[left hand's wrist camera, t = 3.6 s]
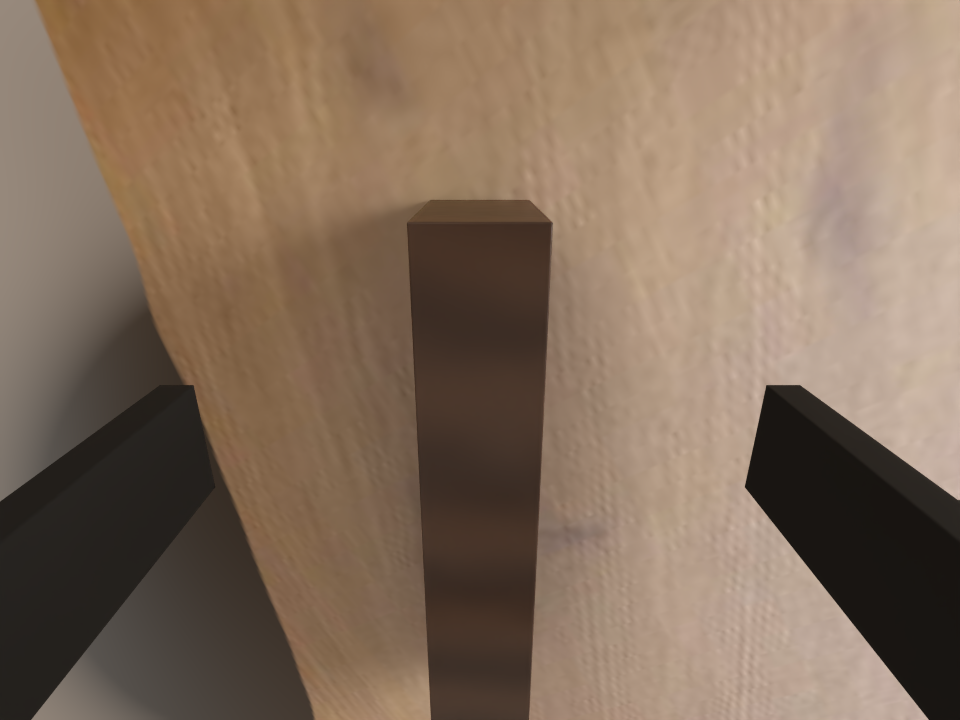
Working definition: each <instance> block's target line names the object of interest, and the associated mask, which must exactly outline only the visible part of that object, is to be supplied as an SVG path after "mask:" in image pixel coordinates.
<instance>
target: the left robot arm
mask: <svg viewBox="0 0 960 720" xmlns="http://www.w3.org/2000/svg"><path fill="white" fill-rule="evenodd" d="M214 488H215V484H214V479H213V475H212V470H211V465H210V461H209V456H208V451H207V446H206V442H205V437H204V432H203V428H202V423H201V418H200V414H199V409H198V404H197V399H196V395H195V390H194V385H160V386H158V387H157V388H156V389H154V390H153V391H151V392H150V393H149V394H147V395H146V396H145V397H143V398H142V399H140V400H139V401H138V402H136V403H135V404H134V405H132V406H131V407H130V408H128V409H127V410H125V411H124V412H123V413H121V414H120V415H119V416H117V417H116V418H114V419H113V420H112V421H110V422H109V423H108V424H106V425H105V426H103V427H102V428H101V429H99V430H98V431H97V432H95V433H94V434H92V435H91V436H90V437H88V438H87V439H86V440H84V441H83V442H81V443H80V444H79V445H77V446H76V447H75V448H73V449H72V450H70V451H69V452H68V453H66V454H65V455H64V456H62V457H61V458H59V459H58V460H57V461H55V462H54V463H53V464H51V465H50V466H49V467H47V468H46V469H44V470H43V471H42V472H40V473H39V474H37V475H36V476H35V477H33V478H32V479H31V480H29V481H28V482H27V483H25V484H24V485H22V486H21V487H20V488H18V489H17V490H16V491H14V492H13V493H11V494H10V495H9V496H7V497H6V498H5V499H3V500H2V501H1V502H0V720H31V719H32V718H33V717H34V715H35V714H36V713H37V712H38V710H39V709H40V708H41V707H42V705H43V704H44V703H45V701H46V700H47V699H48V698H49V696H50V695H51V694H52V693H53V691H54V690H55V689H56V688H57V686H58V685H59V684H60V682H61V681H62V680H63V679H64V677H65V676H66V675H67V674H68V672H69V671H70V670H71V668H72V667H73V666H74V665H75V663H76V662H77V661H78V660H79V658H80V657H81V656H82V655H83V653H84V652H85V651H86V650H87V648H88V647H89V646H90V645H91V643H92V642H93V641H94V639H95V638H96V637H97V636H98V634H99V633H100V632H101V631H102V629H103V628H104V627H105V626H106V624H107V623H108V622H109V621H110V619H111V618H112V617H113V615H114V614H115V613H116V612H117V610H118V609H119V608H120V607H121V605H122V604H123V603H124V602H125V600H126V599H127V598H128V597H129V595H130V594H131V593H132V591H133V590H134V589H135V588H136V586H137V585H138V584H139V583H140V581H141V580H142V579H143V578H144V576H145V575H146V574H147V572H148V571H149V570H150V569H151V567H152V566H153V565H154V564H155V562H156V561H157V560H158V559H159V557H160V556H161V555H162V554H163V552H164V551H165V550H166V548H167V547H168V546H169V545H170V543H171V542H172V541H173V540H174V538H175V537H176V536H177V535H178V533H179V532H180V531H181V530H182V528H183V527H184V526H185V525H186V523H187V522H188V521H189V519H190V518H191V517H192V516H193V514H194V513H195V512H196V511H197V509H198V508H199V507H200V506H201V504H202V503H203V502H204V500H205V499H206V498H207V497H208V495H209V494H210V493H211V492H212V490H213V489H214ZM745 488H746V489H747V490H748V492H749V493H750V494H751V495H752V497H753V498H754V499H755V501H756V502H757V503H758V504H759V506H760V507H761V508H762V509H763V511H764V512H765V513H766V514H767V516H768V517H769V518H770V519H771V521H772V522H773V523H774V525H775V526H776V527H777V528H778V530H779V531H780V532H781V533H782V535H783V536H784V537H785V538H786V540H787V541H788V542H789V543H790V545H791V546H792V547H793V549H794V550H795V551H796V552H797V554H798V555H799V556H800V557H801V559H802V560H803V561H804V562H805V564H806V565H807V566H808V567H809V569H810V570H811V571H812V573H813V574H814V575H815V576H816V578H817V579H818V580H819V581H820V583H821V584H822V585H823V586H824V588H825V589H826V590H827V591H828V593H829V594H830V595H831V597H832V598H833V599H834V600H835V602H836V603H837V604H838V605H839V607H840V608H841V609H842V610H843V612H844V613H845V614H846V616H847V617H848V618H849V619H850V621H851V622H852V623H853V624H854V626H855V627H856V628H857V629H858V631H859V632H860V633H861V634H862V636H863V637H864V638H865V640H866V641H867V642H868V643H869V645H870V646H871V647H872V648H873V650H874V651H875V652H876V653H877V655H878V656H879V657H880V658H881V660H882V661H883V662H884V664H885V665H886V666H887V667H888V669H889V670H890V671H891V672H892V674H893V675H894V676H895V677H896V679H897V680H898V681H899V682H900V684H901V685H902V686H903V688H904V689H905V690H906V691H907V693H908V694H909V695H910V696H911V698H912V699H913V700H914V701H915V703H916V704H917V705H918V707H919V708H920V709H921V710H922V712H923V713H924V714H925V715H926V717H927V718H928V719H929V720H960V500H957V499H955V498H954V497H953V496H951V495H950V494H949V493H947V492H946V491H944V490H943V489H942V488H940V487H939V486H938V485H936V484H935V483H933V482H932V481H931V480H929V479H928V478H927V477H925V476H924V475H923V474H921V473H920V472H918V471H917V470H916V469H914V468H913V467H912V466H910V465H909V464H907V463H906V462H905V461H903V460H902V459H901V458H899V457H898V456H896V455H895V454H894V453H892V452H891V451H890V450H888V449H887V448H885V447H884V446H883V445H881V444H880V443H879V442H877V441H876V440H874V439H873V438H872V437H870V436H869V435H868V434H866V433H865V432H863V431H862V430H861V429H859V428H858V427H857V426H855V425H854V424H852V423H851V422H850V421H848V420H847V419H846V418H844V417H843V416H841V415H840V414H839V413H837V412H836V411H835V410H833V409H832V408H830V407H829V406H828V405H826V404H825V403H824V402H822V401H821V400H820V399H818V398H817V397H815V396H814V395H813V394H811V393H810V392H809V391H807V390H806V389H804V388H803V387H802V386H800V385H766V390H765V395H764V399H763V404H762V409H761V414H760V418H759V423H758V428H757V432H756V437H755V442H754V446H753V451H752V456H751V461H750V465H749V470H748V475H747V479H746V484H745Z"/></svg>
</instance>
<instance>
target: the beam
mask: <svg viewBox="0 0 960 720" xmlns="http://www.w3.org/2000/svg"><path fill="white" fill-rule="evenodd" d="M407 230H408V251H409V272H410V293H411V313H412V334H413V355H414V375H415V396H416V417H417V438H418V458H419V479H420V500H421V520H422V541H423V562H424V583H425V603H426V624H427V645H428V666H429V686H430V707H431V720H529V707H530V686H531V665H532V645H533V624H534V603H535V582H536V562H537V541H538V520H539V500H540V479H541V458H542V437H543V417H544V396H545V375H546V354H547V334H548V313H549V292H550V272H551V251H552V230H553V223H552V222H551V221H550V220H549V219H548V218H547V217H546V216H545V215H544V214H543V213H542V212H541V211H540V210H539V209H538V208H537V207H536V206H535V205H534V204H533V203H532V202H531V201H530V200H430V201H429V202H428V203H427V204H426V205H425V206H424V207H423V208H422V209H421V210H420V211H419V212H418V213H417V214H416V215H415V216H414V217H413V218H412V219H411V220H410V221H409V222H408V223H407Z"/></svg>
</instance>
